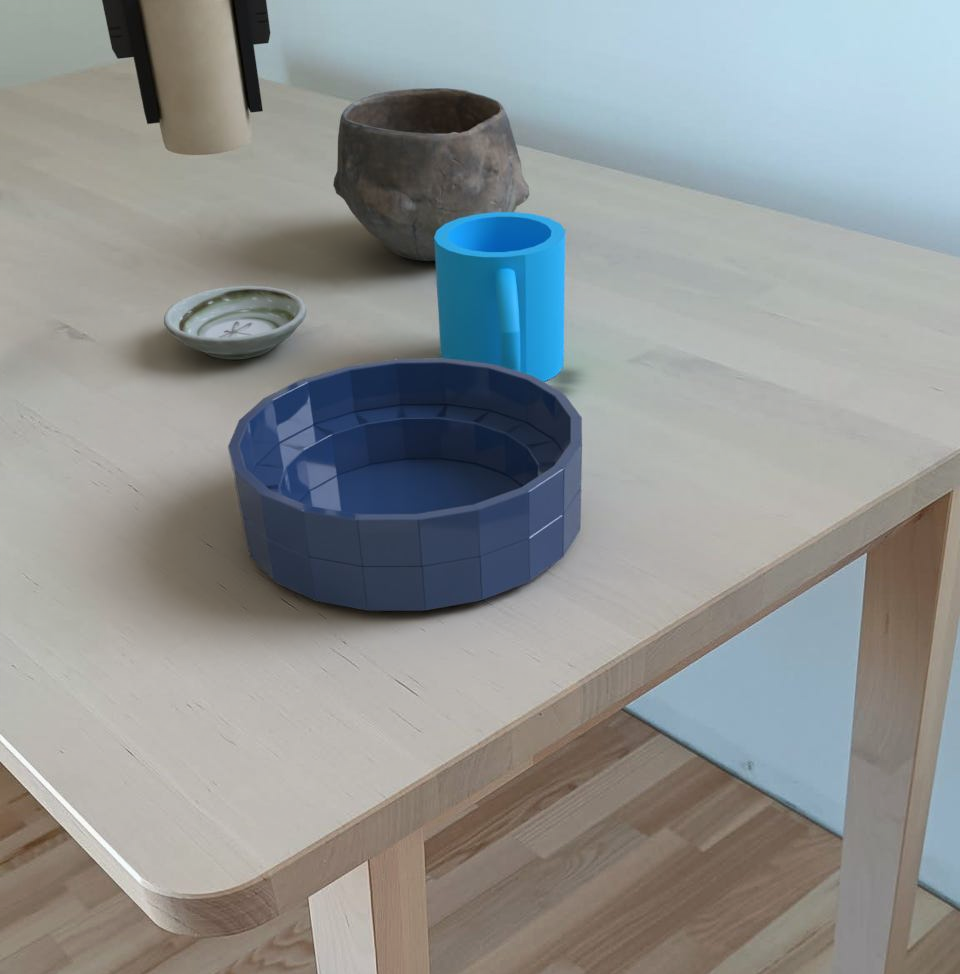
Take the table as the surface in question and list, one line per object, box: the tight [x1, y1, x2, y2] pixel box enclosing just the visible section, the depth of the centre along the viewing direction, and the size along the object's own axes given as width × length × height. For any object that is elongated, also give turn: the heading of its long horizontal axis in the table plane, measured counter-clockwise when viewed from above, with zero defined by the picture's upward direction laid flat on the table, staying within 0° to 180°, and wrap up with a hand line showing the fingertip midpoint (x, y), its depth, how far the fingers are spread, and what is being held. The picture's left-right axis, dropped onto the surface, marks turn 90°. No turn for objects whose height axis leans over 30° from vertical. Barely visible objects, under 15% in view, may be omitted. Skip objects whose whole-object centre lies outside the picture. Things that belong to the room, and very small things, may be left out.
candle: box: [137, 0, 253, 156], centre depth 76 cm, size 6×6×10 cm
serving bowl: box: [227, 357, 583, 612], centre depth 68 cm, size 18×18×6 cm
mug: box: [434, 211, 566, 383], centre depth 80 cm, size 12×8×8 cm
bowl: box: [332, 87, 530, 262], centre depth 97 cm, size 14×15×10 cm
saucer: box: [163, 285, 307, 361], centre depth 87 cm, size 10×10×2 cm
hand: (203, 111), depth 78 cm, fingers closed on candle, 5 cm apart
